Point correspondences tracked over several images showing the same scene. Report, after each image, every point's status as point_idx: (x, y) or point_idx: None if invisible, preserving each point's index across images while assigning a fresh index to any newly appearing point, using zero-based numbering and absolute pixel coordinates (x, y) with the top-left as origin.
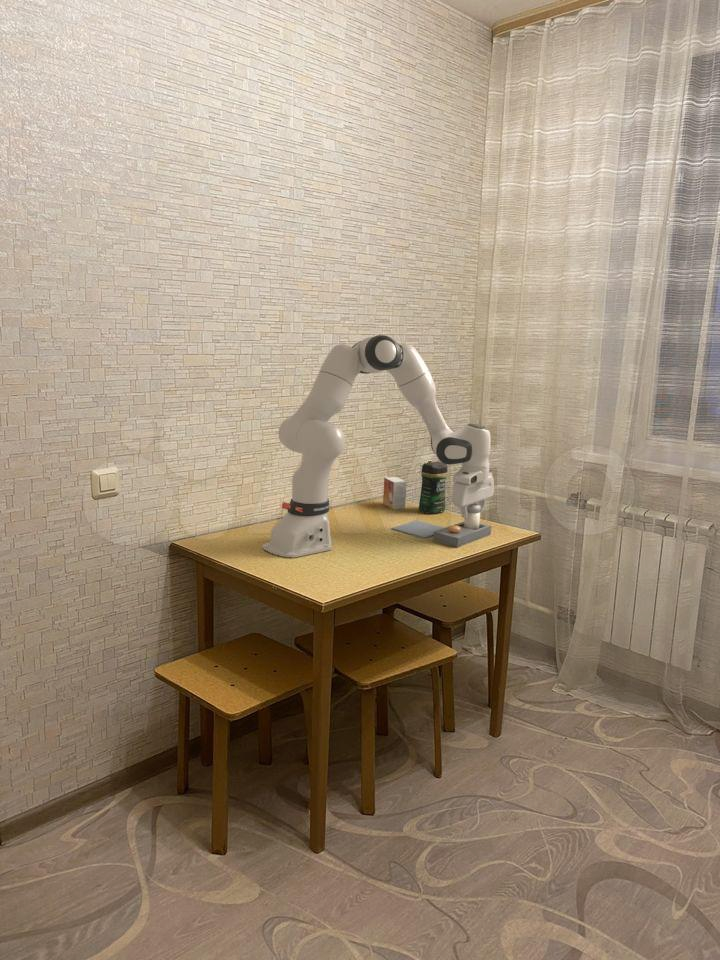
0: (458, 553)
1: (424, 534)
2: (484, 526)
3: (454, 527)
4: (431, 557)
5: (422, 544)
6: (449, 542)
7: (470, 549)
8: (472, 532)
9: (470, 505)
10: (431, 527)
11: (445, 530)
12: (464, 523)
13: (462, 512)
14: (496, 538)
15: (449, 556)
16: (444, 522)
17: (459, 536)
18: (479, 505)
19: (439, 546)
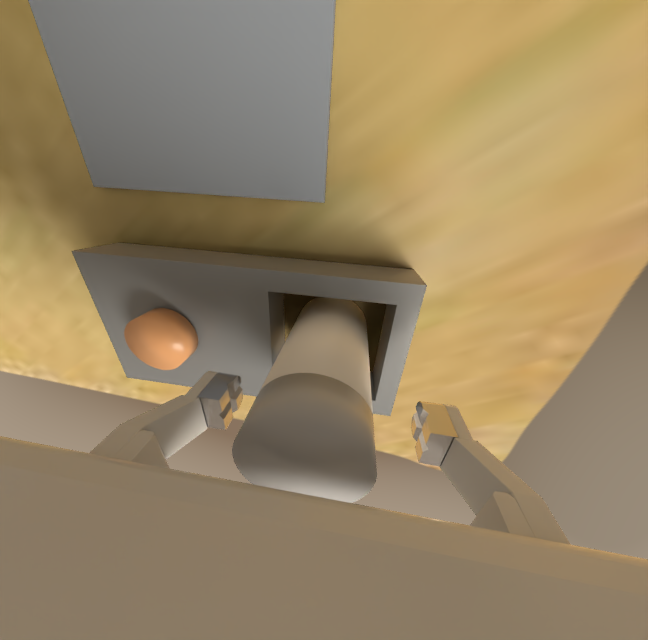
0: (122, 377)
1: (118, 149)
2: (376, 389)
3: (146, 347)
4: (19, 334)
5: (46, 233)
6: None
7: (182, 389)
8: None
9: (282, 455)
10: (257, 74)
11: (146, 287)
12: (293, 331)
13: (189, 398)
14: None
15: (80, 368)
16: (484, 39)
17: (147, 372)
18: (345, 499)
19: None
